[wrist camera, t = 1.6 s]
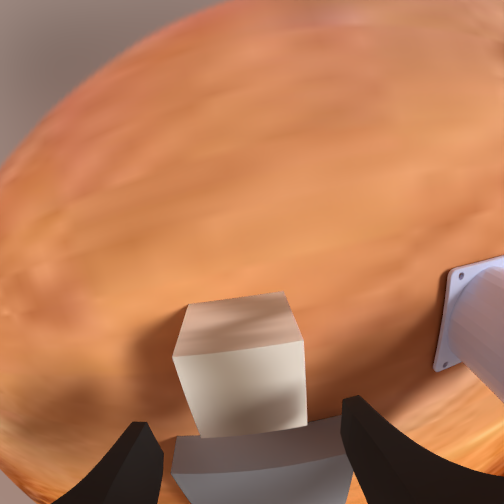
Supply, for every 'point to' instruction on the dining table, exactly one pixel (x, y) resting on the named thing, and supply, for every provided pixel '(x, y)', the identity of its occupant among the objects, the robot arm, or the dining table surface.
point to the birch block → (242, 366)
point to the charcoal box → (266, 466)
